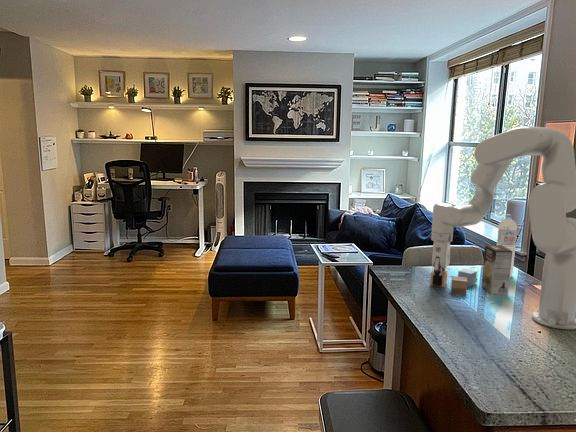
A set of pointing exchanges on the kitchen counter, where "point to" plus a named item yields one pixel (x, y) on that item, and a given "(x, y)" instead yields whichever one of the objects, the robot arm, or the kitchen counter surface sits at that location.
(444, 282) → the terracotta cube
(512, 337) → the kitchen counter surface
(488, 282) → the coffee box
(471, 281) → the slate cube
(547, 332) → the kitchen counter surface
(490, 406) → the kitchen counter surface
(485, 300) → the kitchen counter surface
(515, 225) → the water bottle
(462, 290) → the walnut cube
